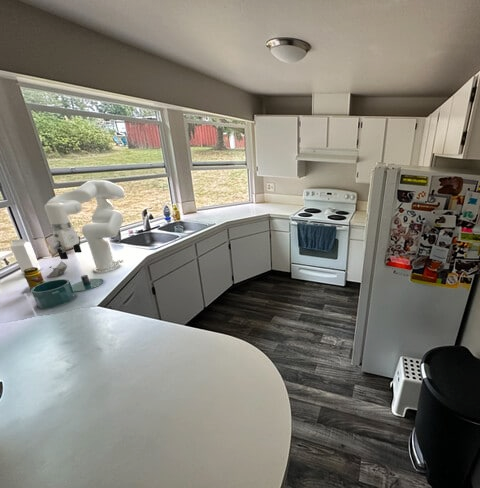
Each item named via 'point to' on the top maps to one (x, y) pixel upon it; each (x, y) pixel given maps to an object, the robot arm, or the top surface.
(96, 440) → the top surface
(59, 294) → the pot
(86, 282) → the lid
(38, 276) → the condiment
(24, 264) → the milk
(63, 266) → the paper boat
